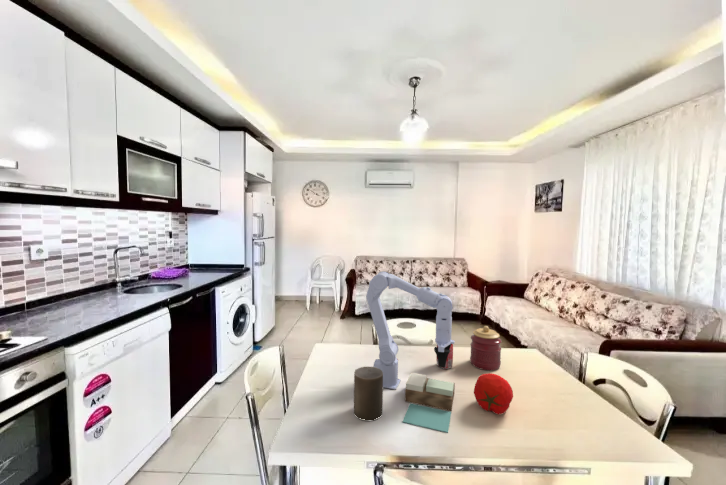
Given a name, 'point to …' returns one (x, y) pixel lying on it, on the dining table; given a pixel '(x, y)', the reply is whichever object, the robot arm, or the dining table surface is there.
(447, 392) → the pale green block
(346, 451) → the dining table surface
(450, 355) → the soda can
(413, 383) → the off-white flat block
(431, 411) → the mat
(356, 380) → the pillar candle
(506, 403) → the tomato
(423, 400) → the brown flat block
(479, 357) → the canister
